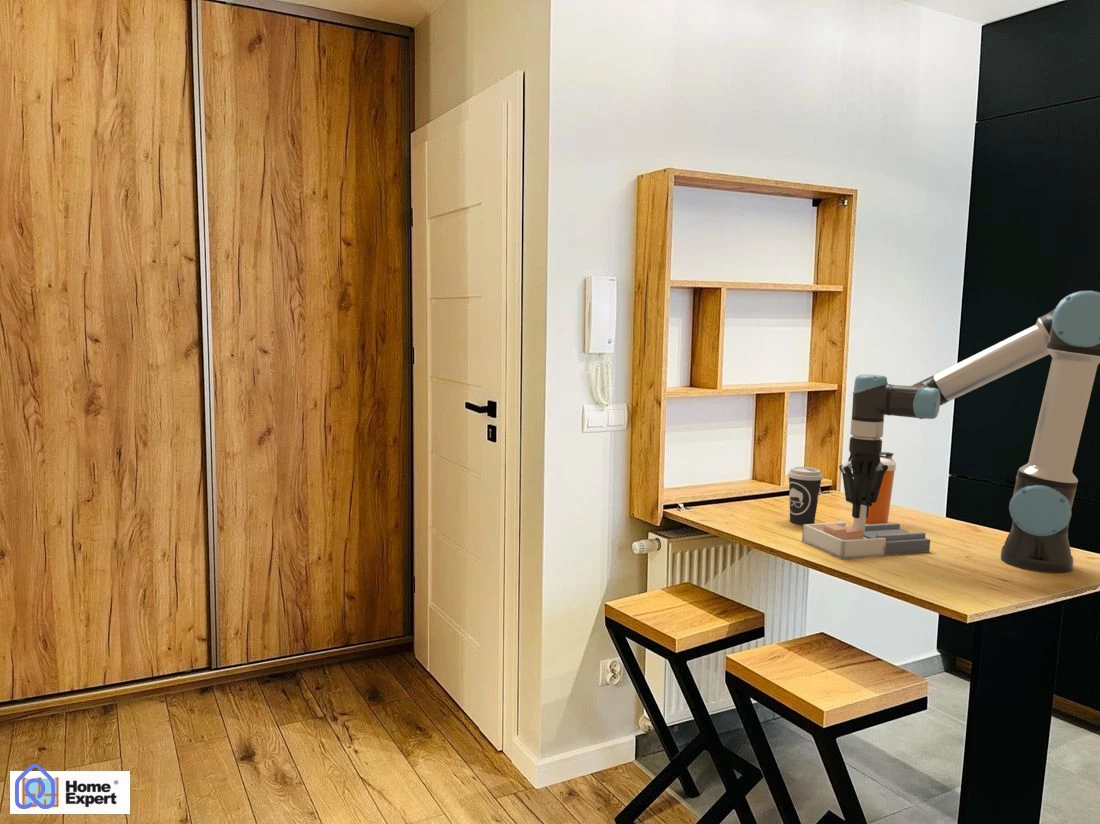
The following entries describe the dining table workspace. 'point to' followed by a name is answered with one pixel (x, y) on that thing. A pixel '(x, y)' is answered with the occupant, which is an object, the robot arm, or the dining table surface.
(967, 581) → the dining table surface
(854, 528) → the tile
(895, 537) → the grey railed fixture
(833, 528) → the tile
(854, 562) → the dining table surface
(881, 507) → the shaker bottle
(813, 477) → the coffee cup
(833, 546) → the tray
